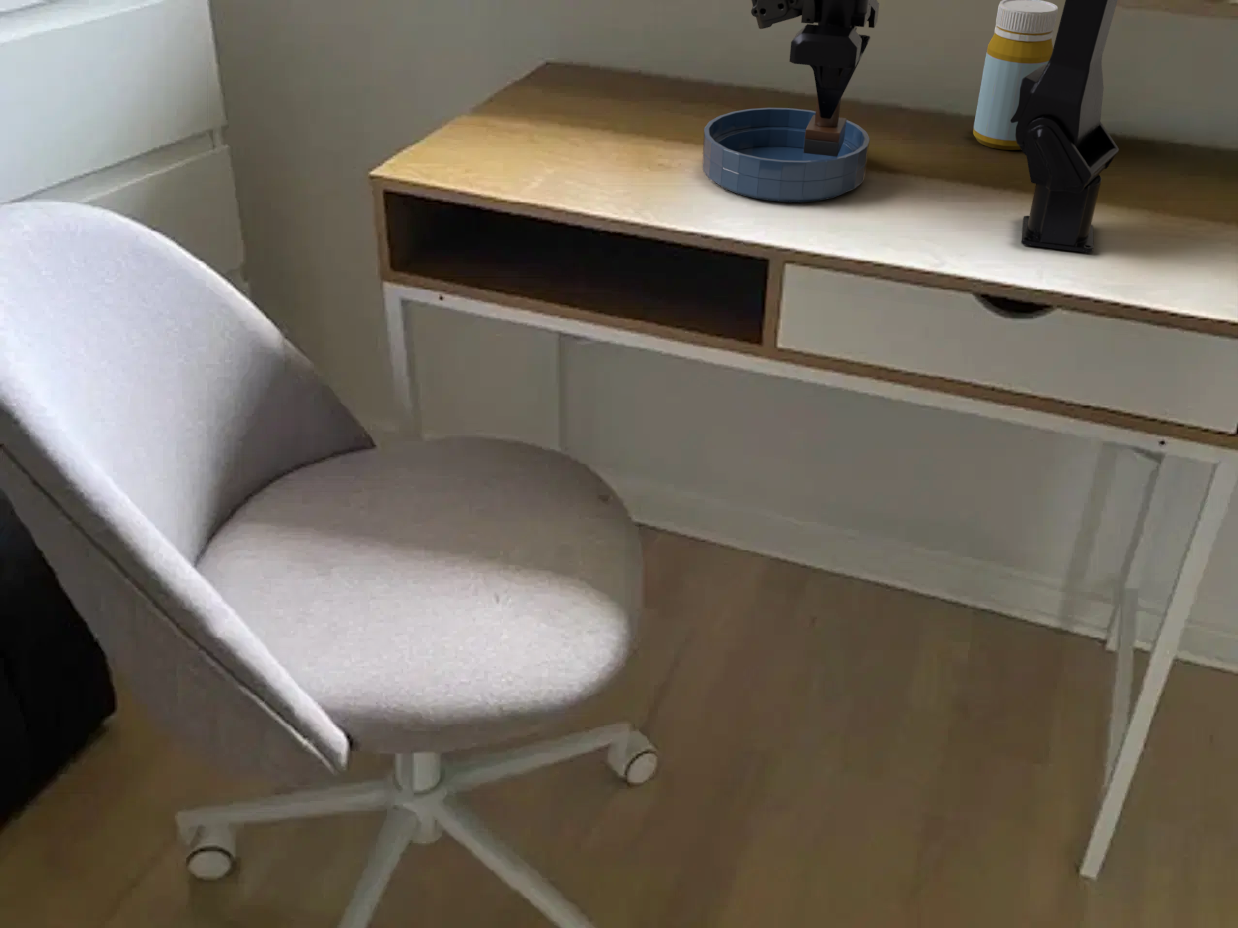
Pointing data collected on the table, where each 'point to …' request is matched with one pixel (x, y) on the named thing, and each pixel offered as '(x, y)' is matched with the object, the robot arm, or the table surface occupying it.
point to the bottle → (1011, 67)
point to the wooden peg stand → (825, 134)
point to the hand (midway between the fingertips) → (827, 114)
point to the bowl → (780, 156)
